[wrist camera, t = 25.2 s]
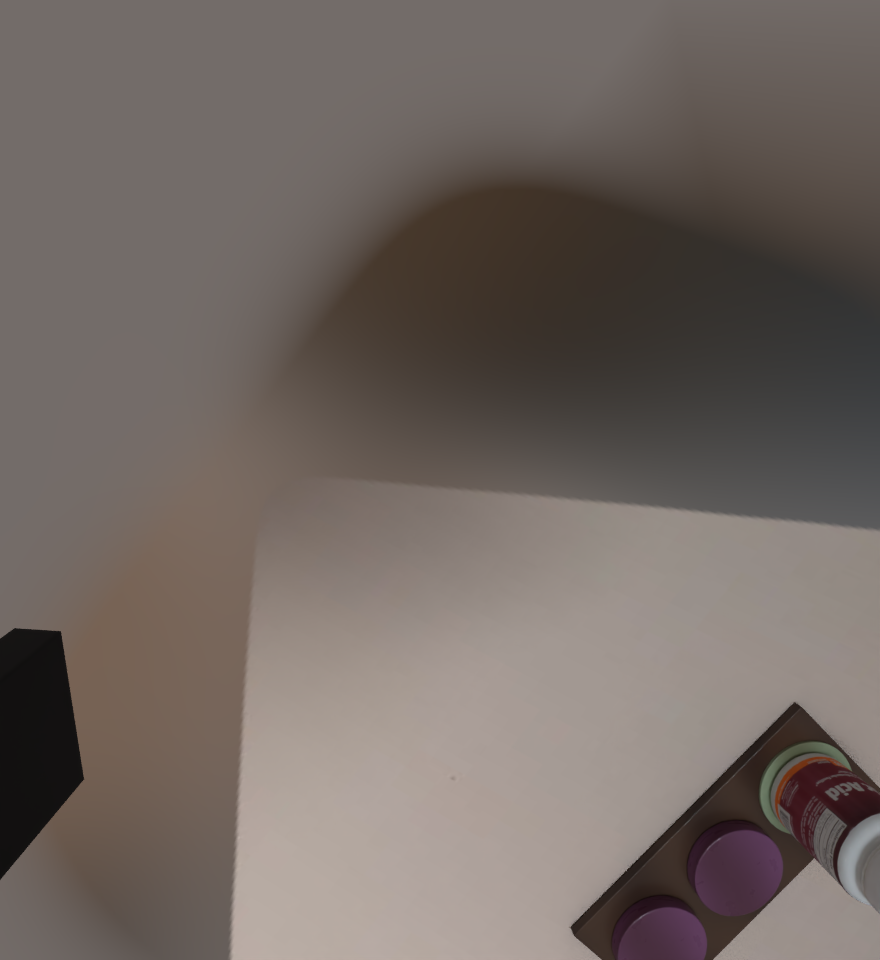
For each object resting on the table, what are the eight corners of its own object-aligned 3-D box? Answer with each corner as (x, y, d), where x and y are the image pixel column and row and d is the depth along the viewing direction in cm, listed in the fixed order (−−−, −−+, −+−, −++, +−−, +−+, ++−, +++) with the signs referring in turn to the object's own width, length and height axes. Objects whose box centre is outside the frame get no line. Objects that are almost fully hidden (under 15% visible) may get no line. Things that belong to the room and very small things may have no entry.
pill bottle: (854, 755, 41) (984, 850, 32) (834, 832, 41) (956, 946, 33) (778, 745, 40) (890, 840, 32) (758, 824, 40) (863, 938, 32)
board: (794, 702, 41) (812, 715, 39) (874, 785, 42) (895, 800, 40) (570, 927, 41) (579, 949, 39) (657, 1002, 42) (669, 1026, 40)
